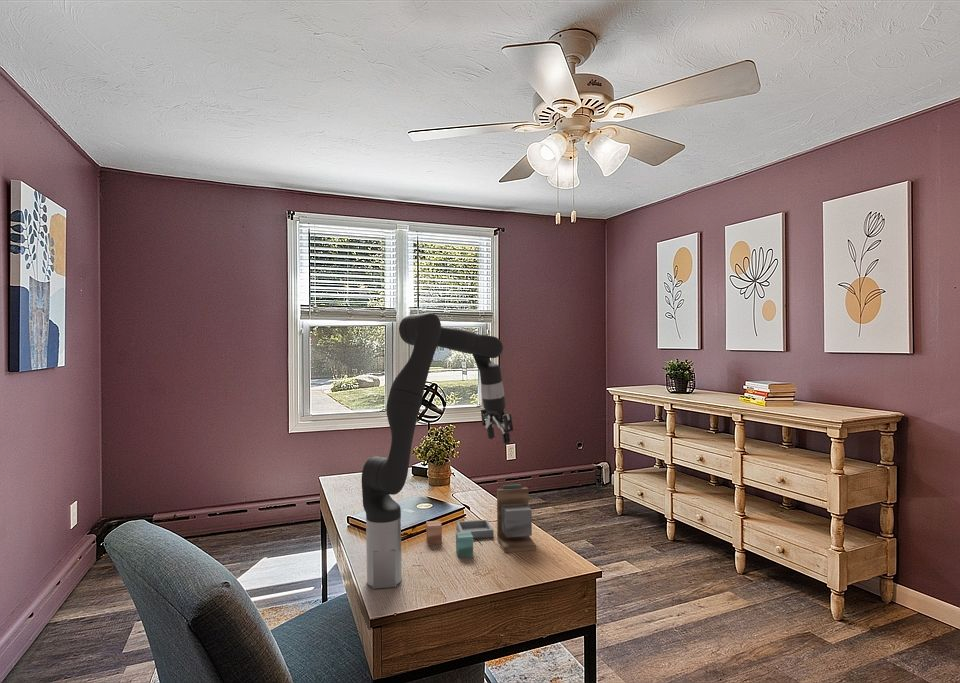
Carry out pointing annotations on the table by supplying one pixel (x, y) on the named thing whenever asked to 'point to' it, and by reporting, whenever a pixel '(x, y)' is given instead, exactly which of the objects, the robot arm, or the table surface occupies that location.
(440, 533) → the terracotta block
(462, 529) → the tray
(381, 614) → the table surface
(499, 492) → the mounted unit
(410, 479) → the table surface
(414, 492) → the table surface
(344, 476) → the table surface
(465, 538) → the teal block
